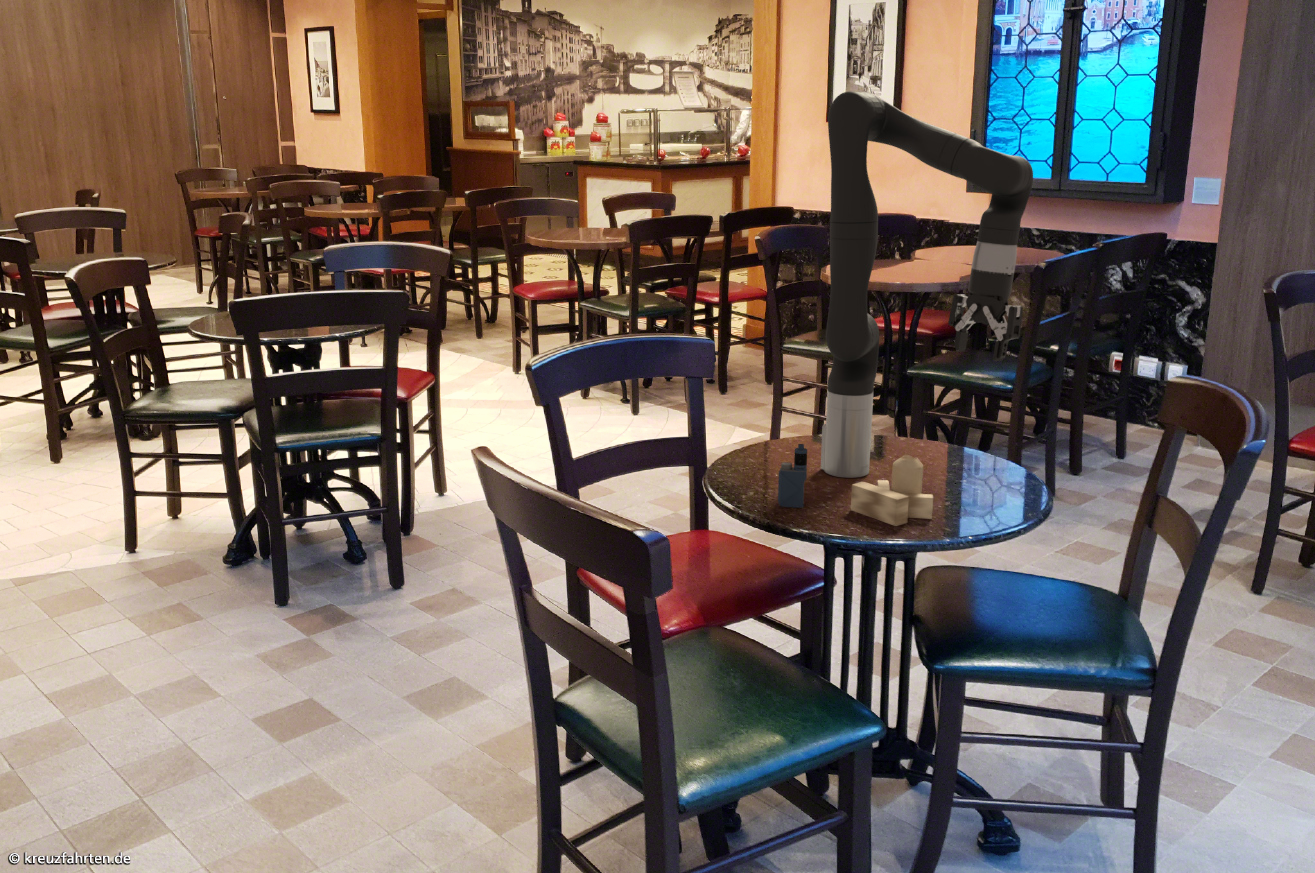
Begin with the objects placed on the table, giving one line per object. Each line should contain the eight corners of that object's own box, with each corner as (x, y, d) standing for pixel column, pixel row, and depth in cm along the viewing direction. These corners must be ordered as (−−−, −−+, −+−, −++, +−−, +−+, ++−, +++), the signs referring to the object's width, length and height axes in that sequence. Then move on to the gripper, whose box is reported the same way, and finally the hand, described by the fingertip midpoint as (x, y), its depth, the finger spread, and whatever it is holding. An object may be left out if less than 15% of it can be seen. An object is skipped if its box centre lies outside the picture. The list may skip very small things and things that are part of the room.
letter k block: (846, 508, 204) (847, 482, 203) (881, 498, 210) (882, 473, 208) (901, 528, 194) (902, 501, 192) (937, 517, 199) (938, 491, 198)
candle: (887, 503, 207) (890, 452, 204) (916, 503, 207) (920, 453, 204) (893, 512, 202) (896, 460, 199) (922, 513, 201) (926, 461, 199)
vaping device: (805, 508, 204) (807, 446, 201) (777, 506, 205) (778, 445, 202) (806, 504, 206) (808, 443, 203) (778, 502, 207) (780, 441, 204)
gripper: (948, 263, 201) (935, 349, 206) (1013, 274, 190) (998, 365, 195) (974, 263, 206) (960, 347, 210) (1039, 274, 195) (1023, 362, 199)
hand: (978, 355), depth 202 cm, fingers open, 8 cm apart
